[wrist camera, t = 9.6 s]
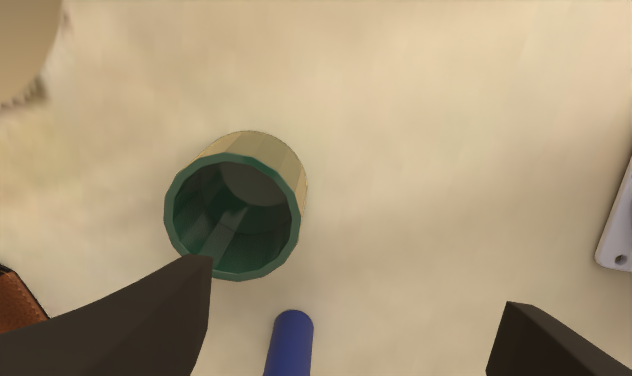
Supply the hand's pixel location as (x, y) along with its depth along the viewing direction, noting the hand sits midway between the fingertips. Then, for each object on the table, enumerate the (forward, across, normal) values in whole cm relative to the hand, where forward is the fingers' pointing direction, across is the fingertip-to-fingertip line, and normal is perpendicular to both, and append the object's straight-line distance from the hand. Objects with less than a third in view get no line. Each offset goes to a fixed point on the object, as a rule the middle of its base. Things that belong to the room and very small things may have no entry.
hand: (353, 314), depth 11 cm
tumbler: (+10, +4, +1) cm, 11 cm away
